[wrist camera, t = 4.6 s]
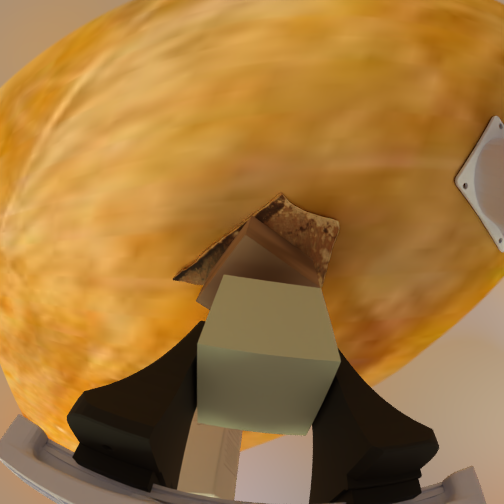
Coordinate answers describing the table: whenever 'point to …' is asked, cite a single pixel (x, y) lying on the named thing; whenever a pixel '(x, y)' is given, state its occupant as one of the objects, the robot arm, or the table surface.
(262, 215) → the shard
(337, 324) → the table surface
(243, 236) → the walnut block
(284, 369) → the sage block
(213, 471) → the skincare box
